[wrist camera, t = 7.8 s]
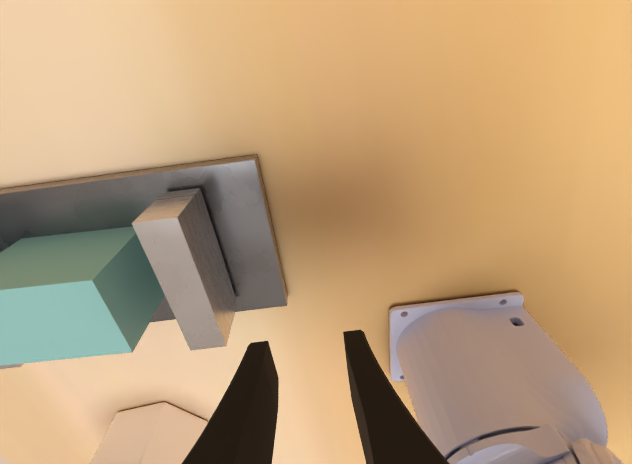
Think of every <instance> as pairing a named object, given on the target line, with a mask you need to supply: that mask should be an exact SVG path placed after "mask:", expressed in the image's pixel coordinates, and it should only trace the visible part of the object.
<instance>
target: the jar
mask: <svg viewBox="0 0 632 464" xmlns="http://www.w3.org/2000/svg"><path fill="white" fill-rule="evenodd" d="M207 424H208V422H207V421H206V420H203V419H201V418H199V417H197V416H194V415H192V414H190V413H188V412H186V411H183V410H181V409H179V408H177V407H175V406H172V405H170V404H168V403H166V402H161V403H157V404H152V405H148V406H143V407H139V408H134V409H129V410H125V411H120V412H118V413H116V415H115V417H114V419H113V421H112V423H111V424H110V426H109V428H108V430H107V432H106V434H105V436H104V438H103V440H102V442H101V444H100V446H99V448H98V450H97V451H96V453H95V455H94V457H93V459H92V461H91V463H90V464H182V462H183V461H184V459H185V458H186V456H187V455H188V453H189V452H190V451H191V449H192V448H193V446H194V445H195V443H196V441H197V440H198V438H199V437H200V435H201V434H202V432H203V430H204V429H205V427H206V425H207Z"/></svg>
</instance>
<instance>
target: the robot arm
mask: <svg viewBox="0 0 632 464" xmlns="http://www.w3.org/2000/svg"><path fill="white" fill-rule="evenodd" d="M501 300H502V301H501ZM523 301H524V297H523V295H522V294H521V293H519V292H512V293H503V294H495V295H487V296H479V297H470V298H462V299H454V300H446V301H437V302H429V303H421V304H413V305H404V306H396V307H393V308H391V309H390V311H389V346H390V377H391V380H393V381H405V383H406V386H407V389H408V392H409V395H410V398H411V402H412V405H413V408H414V411H415V414H416V417H417V420H418V423H417V422H416V421H415V419H414V418H413V416H412V415H411V414H410V412H409V411H408V409H407V408H406V407H405V405H404V404H403V402H402V401H401V399H400V398H399V396H398V395H397V393H396V392H395V390H394V389H393V387H392V385H391V384H390V382H389V380H388V379H387V377H386V376H385V374H384V372H383V371H382V369H381V367H380V365H379V364H378V362H377V360H376V358H375V356H374V354H373V352H372V350H371V348H370V346H369V344H368V341H367V339H366V337H365V334H364V332H363V331H362V330H355V331H347V332H343V334H344V342H345V351H346V360H347V369H348V376H349V383H350V390H351V397H352V403H353V407H354V411H355V416H356V420H357V424H358V429H359V433H360V438H361V442H362V446H363V451H364V455H365V459H366V464H624V463H623V462H622V461H621V460H620V459H619V458H618V457H617V456H616V455H615V454H614V453H613V452H612V451H611V450H609V449H608V448H607V447H606V445H607V438H608V431H607V423H606V419H605V416H604V413H603V410H602V408H601V405H600V403H599V401H598V399H597V397H596V395H595V393H594V391H593V389H592V388H591V386H590V384H589V383H588V381H587V380H586V379H585V377H584V376H583V375H582V373H581V372H580V371H579V370H578V368H577V367H576V366H575V365H574V364H573V363H572V362H571V361H570V359H569V358H568V357H567V356H566V355H565V354H564V353H563V351H562V350H561V349H560V348H559V347H558V346H557V345H556V344H555V342H554V341H553V340H552V339H551V338H550V337H549V336H548V334H547V333H546V332H545V331H544V330H543V329H542V328H541V327H540V325H539V324H538V323H537V322H536V321H535V320H534V319H533V317H532V316H531V315H530V314H529V313H528V312H527V311H526V310H525V308H524V307H523V306H522V305H523ZM402 312H405V313H402ZM277 413H278V375H277V371H276V368H275V364H274V361H273V357H272V354H271V350H270V347H269V343H268V341H263V342H255V343H250V345H249V346H248V348H247V350H246V352H245V355H244V357H243V359H242V361H241V363H240V365H239V367H238V369H237V371H236V373H235V375H234V377H233V379H232V381H231V383H230V385H229V387H228V389H227V391H226V392H225V394H224V396H223V398H222V400H221V402H220V403H219V405H218V407H217V409H216V410H215V412H214V414H213V415H212V417H211V419H210V420H209V422H208V424H207V425H206V427H205V429H204V430H203V432H202V434H201V435H200V437H199V438H198V440H197V441H196V443H195V445H194V446H193V448H192V449H191V451H190V452H189V453H188V455H187V456H186V458H185V459H184V461H183V462H182V464H272V456H273V447H274V439H275V431H276V422H277ZM418 424H419V425H418Z"/></svg>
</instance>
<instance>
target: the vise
mask: <svg viewBox="0 0 632 464" xmlns="http://www.w3.org/2000/svg"><path fill="white" fill-rule="evenodd" d="M194 188H200V189H201V192H202V195H203V198H204V201H205V204H206V207H207V210H208V213H209V217H210V220H211V223H212V226H213V229H214V232H215V235H216V238H217V241H218V244H219V247H220V250H221V254H222V257H223V260H224V263H225V266H226V269H227V272H228V275H229V278H230V281H231V284H232V287H233V291H234V294H235V297H236V300H237V306H236V310H235V312H238V311H246V310H254V309H262V308H270V307H279V306H287V298H288V295H287V290H286V286H285V281H284V277H283V272H282V267H281V263H280V258H279V254H278V249H277V244H276V240H275V235H274V231H273V226H272V222H271V217H270V212H269V208H268V203H267V199H266V194H265V189H264V185H263V180H262V176H261V171H260V167H259V162H258V157H257V154H256V155H249V156H241V157H234V158H227V159H219V160H212V161H204V162H197V163H190V164H182V165H175V166H167V167H160V168H153V169H145V170H138V171H130V172H123V173H116V174H108V175H101V176H93V177H86V178H79V179H71V180H64V181H56V182H49V183H42V184H34V185H27V186H19V187H12V188H5V189H0V252H2V251H3V250H5V249H6V248H8V247H10V246H11V245H13V244H14V243H16V242H17V241H19V240H20V239H22V238H31V237H41V236H50V235H59V234H68V233H77V232H87V231H96V230H105V229H114V228H124V227H133V225H132V223H133V222H134V221H135V220H136V219H137V218H138V217H139V216H140V215H141V214H142V213H143V212H144V211H145V210H146V209H147V208H148V207H149V206H150V205H151V204H152V203H153V202H154V201H155V200H156V199H157V198H158V197H159V196H160V195H161V194H162V193H164V192H172V191H179V190H187V189H194ZM172 319H176V318H175V316H174V314H173V311H172V309H171V307H170V305H169V303H168V301H167V298H166V296H164V298H163V300H162V301H161V303H160V305H159V307H158V308H157V310H156V312H155V314H154V315H153V317H152V319H151V321H150V322H156V321H164V320H172ZM23 364H24V363H22V364H12V365H2V366H0V369H5V368H13V367H21V366H22V365H23Z"/></svg>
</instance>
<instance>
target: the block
mask: <svg viewBox="0 0 632 464" xmlns="http://www.w3.org/2000/svg"><path fill="white" fill-rule="evenodd" d="M164 296H165V294H164V292H163V290H162V288H161V286H160V283H159V281H158V279H157V277H156V275H155V273H154V271H153V268H152V266H151V264H150V262H149V260H148V258H147V255H146V253H145V251H144V249H143V247H142V245H141V243H140V240H139V238H138V236H137V234H136V232H135V230H134V228H133V227H124V228H114V229H105V230H96V231H87V232H77V233H68V234H59V235H50V236H41V237H31V238H22V239H20V240H19V241H17V242H16V243H14V244H13V245H11V246H10V247H8V248H6V249H5V250H3V251H2V252H0V366H2V365H12V364H22V363H31V362H41V361H51V360H61V359H70V358H80V357H90V356H100V355H109V354H119V353H129V352H133V350H134V349H135V347H136V345H137V343H138V342H139V340H140V338H141V336H142V335H143V333H144V331H145V329H146V328H147V326H148V324H149V322H150V321H151V319H152V317H153V315H154V314H155V312H156V310H157V308H158V307H159V305H160V303H161V301H162V300H163V298H164Z"/></svg>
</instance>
